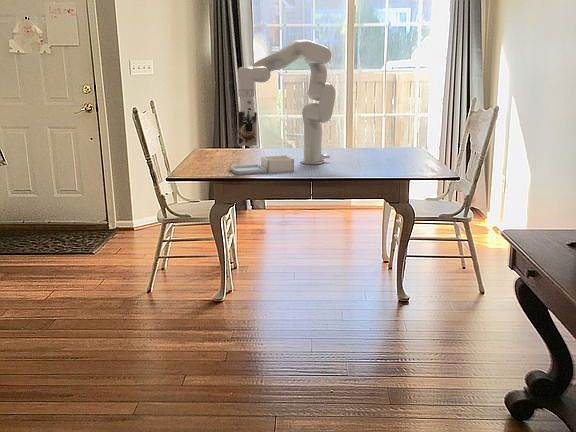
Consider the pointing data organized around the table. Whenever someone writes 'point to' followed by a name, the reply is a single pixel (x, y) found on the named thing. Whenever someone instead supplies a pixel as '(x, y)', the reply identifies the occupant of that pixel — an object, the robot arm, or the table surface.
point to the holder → (277, 163)
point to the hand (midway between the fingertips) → (247, 130)
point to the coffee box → (242, 135)
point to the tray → (247, 169)
